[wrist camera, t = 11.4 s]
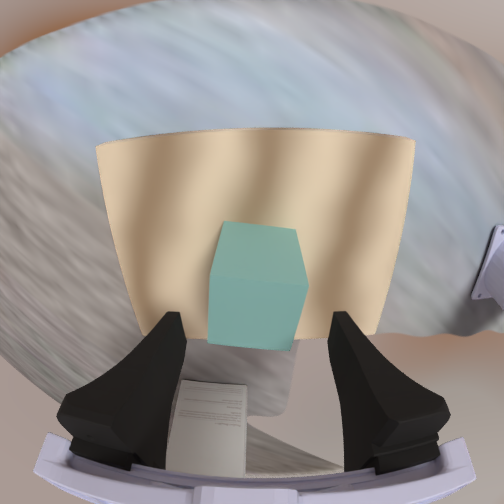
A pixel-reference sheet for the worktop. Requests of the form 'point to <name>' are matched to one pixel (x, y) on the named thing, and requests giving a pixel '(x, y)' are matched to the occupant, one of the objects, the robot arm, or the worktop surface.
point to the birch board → (257, 215)
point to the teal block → (256, 287)
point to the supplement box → (209, 430)
